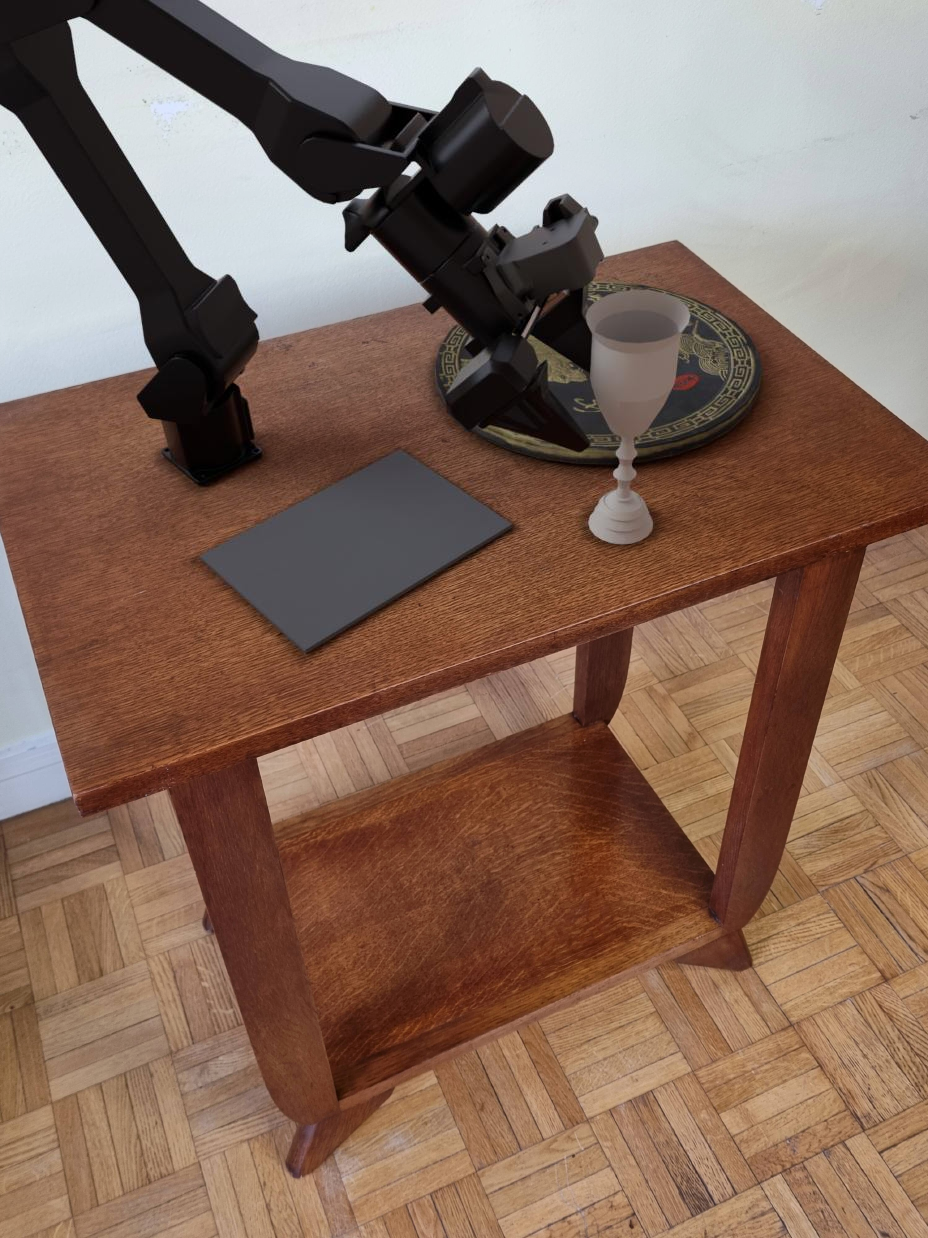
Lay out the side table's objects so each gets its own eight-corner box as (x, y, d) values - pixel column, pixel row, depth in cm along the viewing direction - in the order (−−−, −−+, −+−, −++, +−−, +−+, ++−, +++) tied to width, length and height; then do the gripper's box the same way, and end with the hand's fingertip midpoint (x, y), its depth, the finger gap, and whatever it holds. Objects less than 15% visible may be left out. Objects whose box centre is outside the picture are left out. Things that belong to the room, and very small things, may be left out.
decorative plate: (835, 372, 96) (565, 494, 85) (831, 391, 98) (564, 513, 86) (619, 251, 115) (374, 339, 104) (618, 268, 116) (375, 356, 105)
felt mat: (305, 654, 77) (305, 650, 76) (200, 559, 84) (199, 555, 84) (512, 527, 86) (512, 523, 85) (400, 452, 93) (400, 448, 93)
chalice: (611, 484, 89) (626, 279, 77) (682, 516, 86) (710, 308, 73) (558, 529, 85) (564, 322, 73) (630, 565, 82) (650, 354, 69)
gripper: (487, 241, 63) (662, 429, 68) (564, 121, 75) (707, 287, 80) (372, 346, 70) (538, 509, 75) (461, 221, 82) (597, 367, 88)
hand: (600, 412), depth 79 cm, fingers open, 9 cm apart
